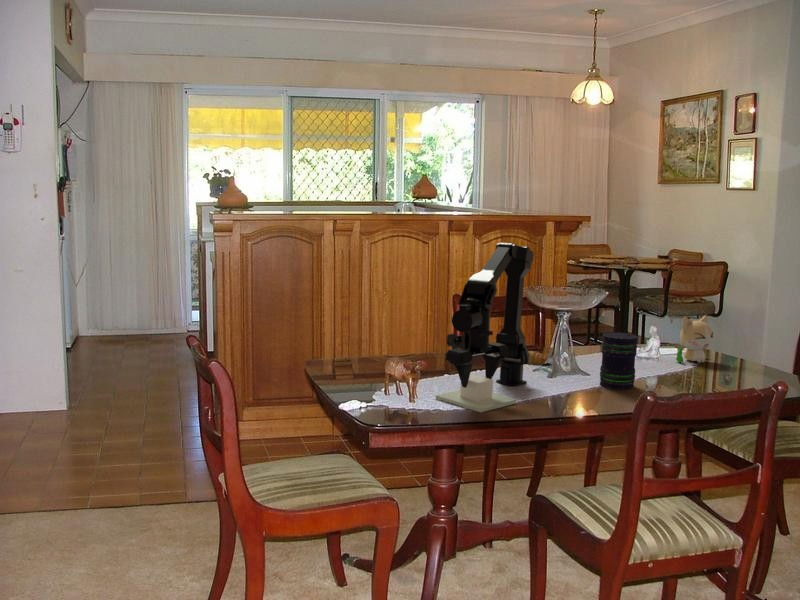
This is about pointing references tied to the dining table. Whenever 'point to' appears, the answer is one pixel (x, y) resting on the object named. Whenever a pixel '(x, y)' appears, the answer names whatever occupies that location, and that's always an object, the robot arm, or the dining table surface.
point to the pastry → (537, 358)
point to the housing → (477, 389)
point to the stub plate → (478, 406)
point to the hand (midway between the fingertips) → (476, 384)
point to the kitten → (695, 339)
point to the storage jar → (618, 360)
